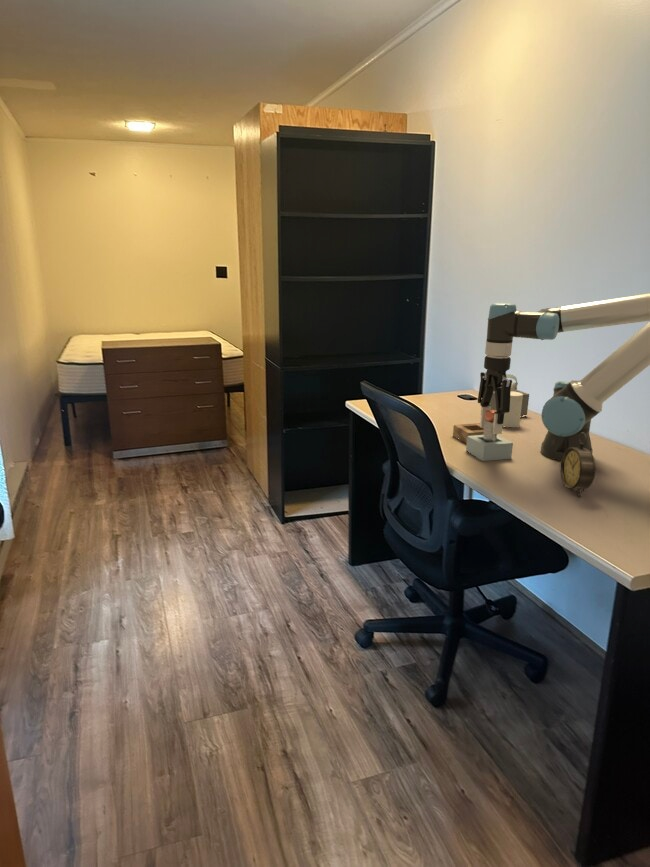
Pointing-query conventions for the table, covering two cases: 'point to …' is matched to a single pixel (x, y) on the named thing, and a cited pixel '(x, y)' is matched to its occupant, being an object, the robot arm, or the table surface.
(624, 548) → the table surface
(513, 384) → the headphones
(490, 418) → the pin
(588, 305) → the robot arm
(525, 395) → the box
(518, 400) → the cream cylinder
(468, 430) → the mount
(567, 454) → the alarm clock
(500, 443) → the frame
